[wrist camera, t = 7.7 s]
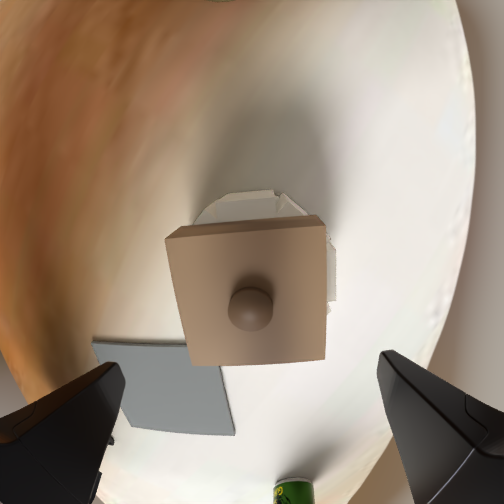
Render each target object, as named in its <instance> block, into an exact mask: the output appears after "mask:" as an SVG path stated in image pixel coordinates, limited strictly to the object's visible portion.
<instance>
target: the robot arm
mask: <svg viewBox="0 0 504 504" xmlns="http://www.w3.org/2000/svg"><path fill="white" fill-rule="evenodd" d="M377 378H378V382H379V386H380V391H381V395H382V399H383V404H384V408H385V412H386V415H387V418H388V421H389V424H390V427H391V430H392V433H393V436H394V438H395V441H396V444H397V447H398V450H399V453H400V456H401V460H402V463H403V466H404V469H405V472H406V475H407V479H408V482H409V486H410V489H411V492H412V495H413V499H414V503H415V504H504V412H501V411H498V410H497V409H495V408H493V407H491V406H489V405H486V404H485V403H483V402H481V401H479V400H477V399H475V398H474V397H472V396H470V395H468V394H466V393H465V392H463V391H462V390H460V389H458V388H456V387H455V386H453V385H451V384H449V383H448V382H446V381H444V380H443V379H441V378H439V377H438V376H436V375H434V374H432V373H431V372H429V371H428V370H426V369H424V368H423V367H421V366H419V365H418V364H416V363H414V362H413V361H411V360H409V359H407V358H406V357H404V356H402V355H401V354H399V353H397V352H396V351H394V350H386V351H382V352H381V353H380V355H379V361H378V367H377ZM125 385H126V380H125V377H124V375H123V373H122V370H121V368H120V366H119V364H118V363H117V362H111V361H107V362H105V363H103V364H102V365H100V366H98V367H96V368H95V369H93V370H91V371H89V372H87V373H86V374H84V375H82V376H80V377H79V378H77V379H75V380H73V381H71V382H70V383H68V384H66V385H64V386H62V387H61V388H59V389H57V390H55V391H53V392H51V393H50V394H48V395H46V396H44V397H42V398H40V399H39V400H37V401H35V402H33V403H31V404H29V405H27V406H25V407H23V408H22V409H20V410H17V411H15V412H13V413H11V414H9V415H6V416H4V417H2V418H0V504H91V503H92V502H93V500H94V498H95V495H96V492H97V488H98V485H99V482H100V478H101V475H102V473H101V472H100V471H99V468H100V465H101V462H102V459H103V456H104V453H105V450H106V448H107V446H108V445H114V441H113V439H112V438H111V433H112V431H113V428H114V425H115V422H116V420H117V416H118V413H119V409H120V405H121V401H122V397H123V393H124V389H125Z"/></svg>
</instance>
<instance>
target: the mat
mask: <svg viewBox="0 0 504 504" xmlns="http://www.w3.org/2000/svg"><path fill="white" fill-rule="evenodd" d="M91 345H92V347H93V349H94V352H95V354H96V357H97V359H98V361H99V364H100V365H102V364H103V363H105V362H107V361H111V362H117V363H118V364H119V366H120V368H121V370H122V373H123V375H124V377H125V380H126V385H125V389H124V393H123V397H122V401H121V405H120V407H121V409H122V411H123V413H124V414H125V416H126V418H127V420H128V422H129V423H130V425H131V427H136V428H143V429H150V430H157V431H165V432H175V433H186V434H200V435H223V436H235V430H234V426H233V422H232V418H231V414H230V410H229V406H228V402H227V397H226V393H225V389H224V384H223V380H222V375H221V371H220V366H192V363H191V359H190V355H189V351H188V347H187V344H138V343H117V342H101V341H92V342H91Z"/></svg>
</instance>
